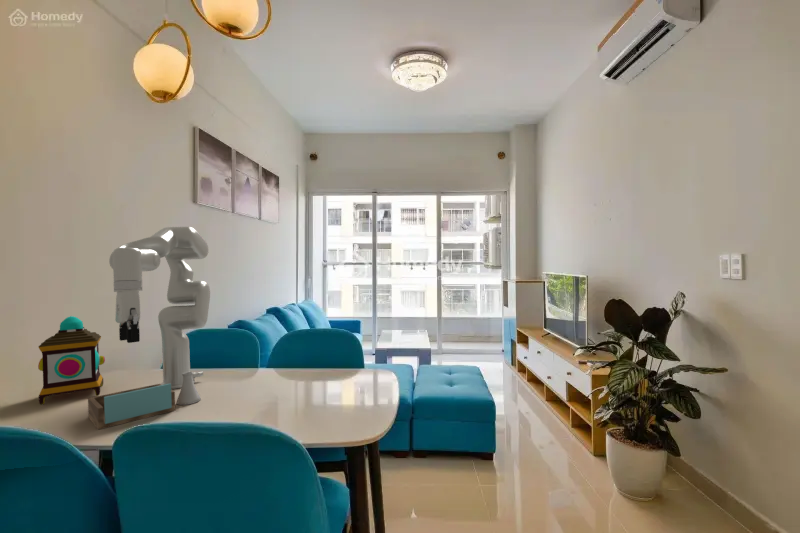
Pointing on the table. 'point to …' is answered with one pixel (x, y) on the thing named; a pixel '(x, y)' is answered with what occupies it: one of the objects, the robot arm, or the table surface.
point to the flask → (188, 391)
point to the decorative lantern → (70, 360)
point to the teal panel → (137, 403)
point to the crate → (98, 419)
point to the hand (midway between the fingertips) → (129, 341)
